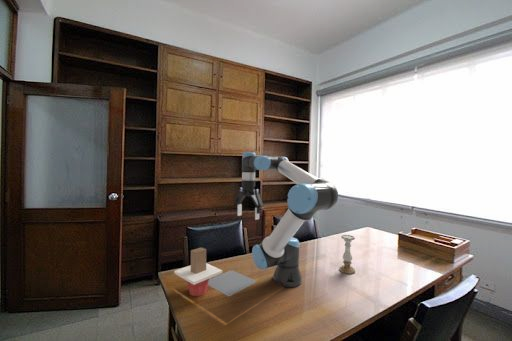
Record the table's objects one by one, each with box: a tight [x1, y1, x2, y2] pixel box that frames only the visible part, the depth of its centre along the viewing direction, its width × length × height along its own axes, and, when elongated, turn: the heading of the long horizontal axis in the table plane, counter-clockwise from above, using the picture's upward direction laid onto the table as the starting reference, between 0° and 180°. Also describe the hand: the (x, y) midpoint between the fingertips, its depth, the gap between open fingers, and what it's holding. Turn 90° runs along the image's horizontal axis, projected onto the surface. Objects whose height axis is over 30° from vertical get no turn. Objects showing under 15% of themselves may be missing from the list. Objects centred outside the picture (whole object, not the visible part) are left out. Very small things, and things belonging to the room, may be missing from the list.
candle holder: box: [338, 234, 356, 275], centre depth 144 cm, size 9×9×20 cm
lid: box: [173, 247, 223, 285], centre depth 117 cm, size 16×16×11 cm
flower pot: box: [186, 278, 210, 297], centre depth 117 cm, size 11×11×10 cm
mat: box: [208, 269, 258, 297], centre depth 127 cm, size 20×20×1 cm
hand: (248, 217), depth 139 cm, fingers open, 13 cm apart
